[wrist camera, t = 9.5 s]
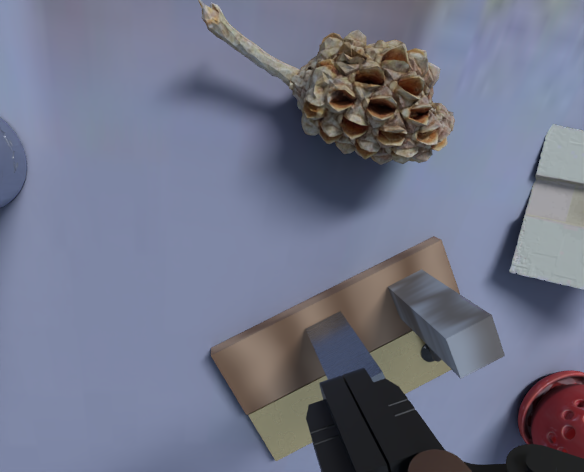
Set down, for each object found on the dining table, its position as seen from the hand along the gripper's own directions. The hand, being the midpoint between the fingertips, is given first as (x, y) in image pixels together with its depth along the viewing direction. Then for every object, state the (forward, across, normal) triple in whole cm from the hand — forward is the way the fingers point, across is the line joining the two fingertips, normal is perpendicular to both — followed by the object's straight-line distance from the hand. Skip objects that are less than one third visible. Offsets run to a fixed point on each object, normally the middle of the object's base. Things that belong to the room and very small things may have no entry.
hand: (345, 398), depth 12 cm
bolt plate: (+27, -7, +21) cm, 35 cm away
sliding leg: (+25, -4, +16) cm, 30 cm away
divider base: (+27, -6, +15) cm, 31 cm away
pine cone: (+27, -8, -10) cm, 30 cm away
